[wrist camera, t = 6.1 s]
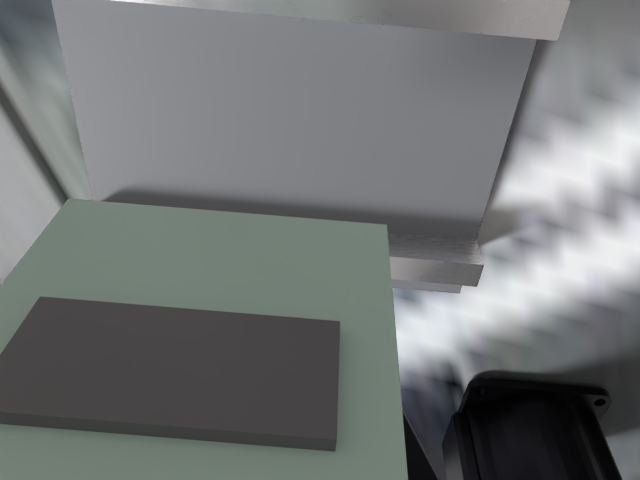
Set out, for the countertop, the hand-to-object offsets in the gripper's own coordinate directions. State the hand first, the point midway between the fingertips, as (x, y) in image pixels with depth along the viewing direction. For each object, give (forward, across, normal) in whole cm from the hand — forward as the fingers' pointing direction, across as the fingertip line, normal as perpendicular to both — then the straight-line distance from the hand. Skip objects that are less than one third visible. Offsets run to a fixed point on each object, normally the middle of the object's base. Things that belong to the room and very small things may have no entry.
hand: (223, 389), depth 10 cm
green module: (+1, 0, 0) cm, 1 cm away
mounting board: (+11, 0, 0) cm, 11 cm away
